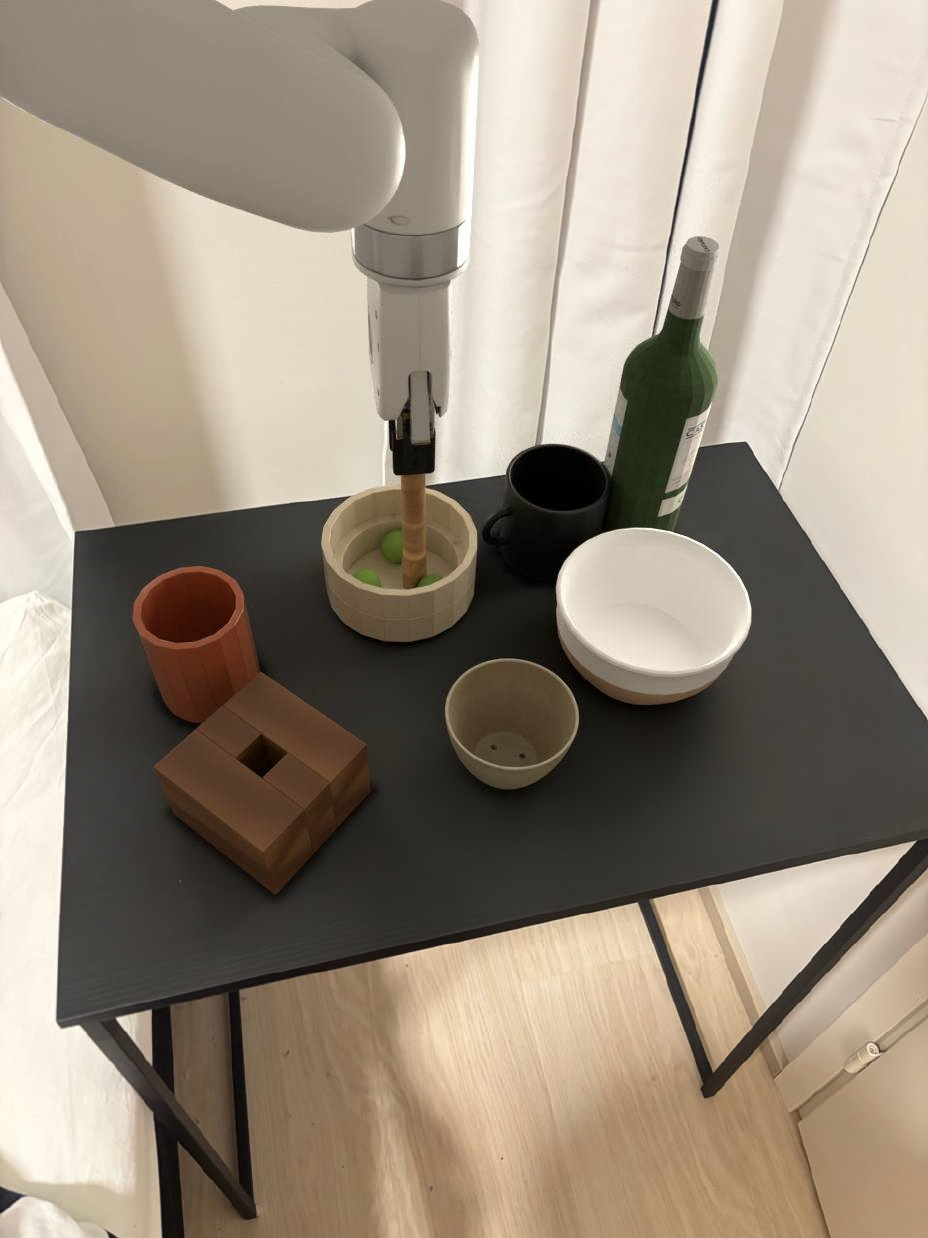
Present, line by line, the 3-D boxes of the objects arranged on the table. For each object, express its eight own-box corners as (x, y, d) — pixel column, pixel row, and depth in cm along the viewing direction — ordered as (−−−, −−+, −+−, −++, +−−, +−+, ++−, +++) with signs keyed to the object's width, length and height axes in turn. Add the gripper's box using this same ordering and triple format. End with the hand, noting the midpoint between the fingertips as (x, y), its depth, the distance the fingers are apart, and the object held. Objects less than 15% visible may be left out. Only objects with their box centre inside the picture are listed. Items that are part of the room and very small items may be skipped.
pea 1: (370, 614, 83) (364, 599, 80) (344, 597, 84) (337, 582, 81) (390, 589, 84) (385, 574, 81) (365, 573, 85) (359, 557, 82)
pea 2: (390, 573, 85) (390, 548, 83) (375, 554, 87) (375, 529, 85) (419, 563, 86) (419, 538, 84) (404, 544, 88) (404, 520, 86)
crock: (209, 741, 74) (185, 666, 67) (140, 689, 77) (109, 612, 69) (280, 676, 79) (265, 599, 71) (212, 629, 82) (191, 551, 74)
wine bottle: (676, 562, 89) (766, 274, 66) (594, 560, 89) (656, 270, 66) (664, 505, 94) (745, 219, 71) (587, 503, 94) (643, 215, 71)
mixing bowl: (412, 672, 79) (412, 620, 74) (297, 599, 84) (289, 545, 79) (501, 581, 86) (507, 528, 81) (390, 518, 91) (389, 464, 86)
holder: (275, 895, 66) (262, 852, 61) (173, 814, 70) (153, 767, 65) (370, 791, 72) (367, 744, 67) (271, 721, 76) (260, 670, 70)
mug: (459, 534, 90) (462, 463, 83) (567, 503, 94) (579, 433, 87) (500, 602, 85) (507, 533, 78) (613, 567, 88) (630, 497, 81)
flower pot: (588, 793, 73) (602, 745, 67) (470, 834, 70) (475, 787, 64) (535, 694, 78) (544, 643, 73) (425, 729, 76) (425, 678, 70)
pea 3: (431, 620, 82) (440, 600, 80) (406, 598, 83) (414, 579, 81) (451, 602, 84) (460, 583, 82) (426, 581, 85) (435, 561, 82)
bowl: (759, 708, 78) (788, 651, 72) (584, 750, 75) (598, 694, 69) (680, 572, 88) (700, 512, 82) (521, 604, 85) (529, 544, 79)
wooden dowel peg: (415, 595, 82) (412, 414, 67) (398, 584, 83) (391, 403, 68) (431, 581, 83) (431, 400, 68) (414, 571, 84) (411, 389, 69)
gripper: (342, 177, 62) (355, 400, 77) (360, 307, 52) (372, 536, 67) (452, 174, 63) (445, 395, 78) (490, 301, 53) (475, 528, 68)
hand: (411, 458), depth 72 cm, fingers closed on wooden dowel peg, 2 cm apart
